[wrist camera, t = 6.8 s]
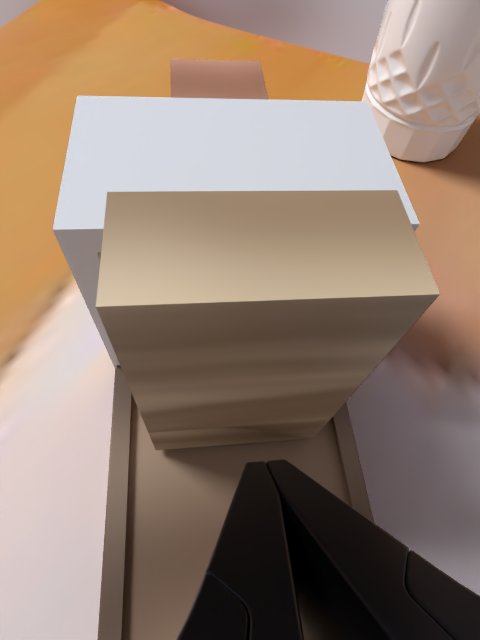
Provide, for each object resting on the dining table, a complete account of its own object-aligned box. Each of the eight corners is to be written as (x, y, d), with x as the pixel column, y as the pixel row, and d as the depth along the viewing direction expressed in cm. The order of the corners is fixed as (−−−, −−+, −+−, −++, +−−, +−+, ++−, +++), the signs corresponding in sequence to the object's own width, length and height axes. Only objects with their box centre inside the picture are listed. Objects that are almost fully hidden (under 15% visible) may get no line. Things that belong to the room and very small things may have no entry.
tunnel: (334, 357, 17) (419, 224, 10) (115, 368, 16) (52, 229, 9) (311, 258, 19) (367, 101, 13) (122, 263, 18) (77, 95, 12)
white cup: (425, 188, 24) (547, -17, 16) (322, 125, 27) (379, -83, 18) (485, 135, 28) (613, -59, 19) (388, 82, 30) (462, -110, 21)
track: (425, 804, 11) (449, 830, 10) (91, 866, 10) (77, 903, 9) (289, 189, 23) (293, 170, 22) (130, 190, 22) (127, 170, 21)
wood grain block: (313, 438, 15) (440, 294, 7) (155, 450, 14) (95, 306, 6) (263, 167, 22) (298, -53, 14) (158, 168, 21) (132, -63, 14)
